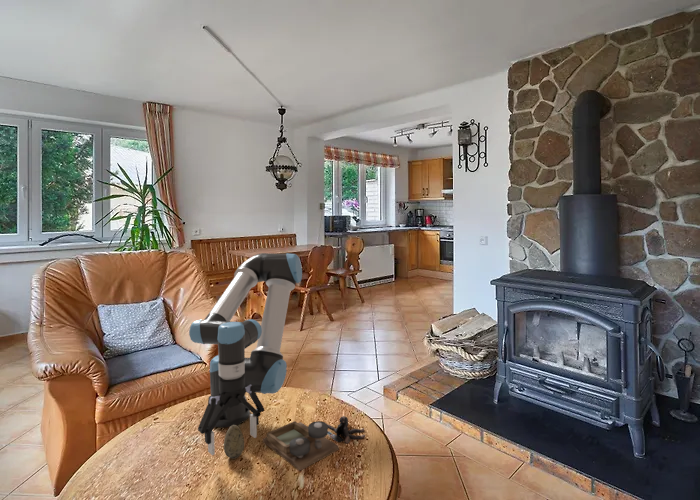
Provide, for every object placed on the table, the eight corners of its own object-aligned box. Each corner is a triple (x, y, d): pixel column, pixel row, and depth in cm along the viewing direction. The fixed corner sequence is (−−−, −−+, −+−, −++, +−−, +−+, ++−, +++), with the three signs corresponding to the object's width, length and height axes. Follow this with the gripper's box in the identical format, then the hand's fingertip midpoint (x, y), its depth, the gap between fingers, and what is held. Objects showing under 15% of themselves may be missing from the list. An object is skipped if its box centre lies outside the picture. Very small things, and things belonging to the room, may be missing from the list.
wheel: (304, 432, 123) (304, 424, 122) (319, 425, 127) (319, 417, 126) (316, 440, 118) (316, 431, 118) (331, 433, 122) (331, 424, 122)
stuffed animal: (364, 442, 126) (333, 419, 127) (347, 464, 127) (317, 442, 128) (368, 422, 137) (339, 402, 138) (352, 443, 139) (324, 423, 140)
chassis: (262, 442, 128) (262, 424, 127) (300, 425, 138) (300, 408, 137) (299, 470, 113) (299, 450, 113) (338, 449, 123) (338, 431, 123)
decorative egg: (224, 465, 116) (223, 432, 115) (223, 453, 121) (222, 422, 121) (245, 460, 118) (244, 428, 117) (243, 449, 124) (242, 418, 123)
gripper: (195, 391, 106) (197, 466, 108) (274, 368, 123) (275, 433, 125) (184, 382, 112) (186, 455, 113) (262, 362, 129) (262, 425, 130)
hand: (233, 444), depth 119 cm, fingers open, 13 cm apart
